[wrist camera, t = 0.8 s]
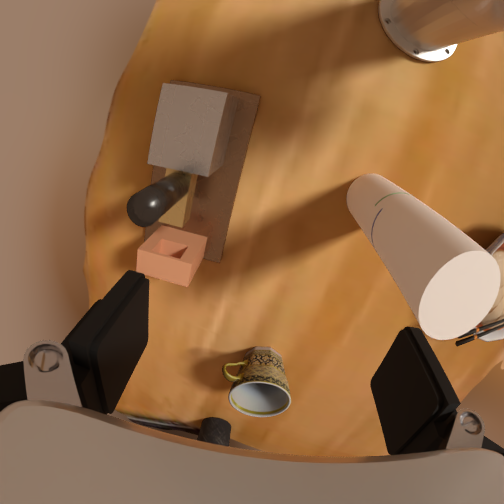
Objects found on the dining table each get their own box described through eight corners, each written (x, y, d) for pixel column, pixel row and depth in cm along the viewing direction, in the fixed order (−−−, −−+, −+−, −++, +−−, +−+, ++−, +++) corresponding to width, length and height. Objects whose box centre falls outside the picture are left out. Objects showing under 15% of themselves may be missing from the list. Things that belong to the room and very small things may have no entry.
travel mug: (196, 416, 64) (178, 486, 45) (226, 416, 62) (212, 490, 44) (207, 432, 66) (193, 498, 48) (236, 432, 65) (225, 500, 47)
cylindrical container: (337, 209, 40) (398, 323, 17) (361, 164, 37) (462, 231, 14) (378, 231, 41) (458, 349, 18) (402, 189, 38) (513, 275, 15)
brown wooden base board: (173, 80, 34) (144, 72, 26) (260, 96, 35) (254, 88, 26) (146, 239, 45) (119, 268, 36) (220, 259, 45) (207, 293, 36)
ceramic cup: (302, 359, 52) (303, 401, 43) (263, 382, 56) (260, 423, 47) (250, 319, 49) (243, 362, 40) (212, 348, 53) (201, 389, 44)
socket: (161, 225, 42) (137, 249, 35) (207, 237, 42) (191, 264, 35) (159, 245, 44) (136, 271, 36) (203, 257, 44) (187, 287, 36)
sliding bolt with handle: (190, 90, 30) (147, 78, 19) (215, 94, 30) (182, 82, 19) (167, 213, 37) (123, 254, 26) (189, 219, 37) (152, 263, 26)
